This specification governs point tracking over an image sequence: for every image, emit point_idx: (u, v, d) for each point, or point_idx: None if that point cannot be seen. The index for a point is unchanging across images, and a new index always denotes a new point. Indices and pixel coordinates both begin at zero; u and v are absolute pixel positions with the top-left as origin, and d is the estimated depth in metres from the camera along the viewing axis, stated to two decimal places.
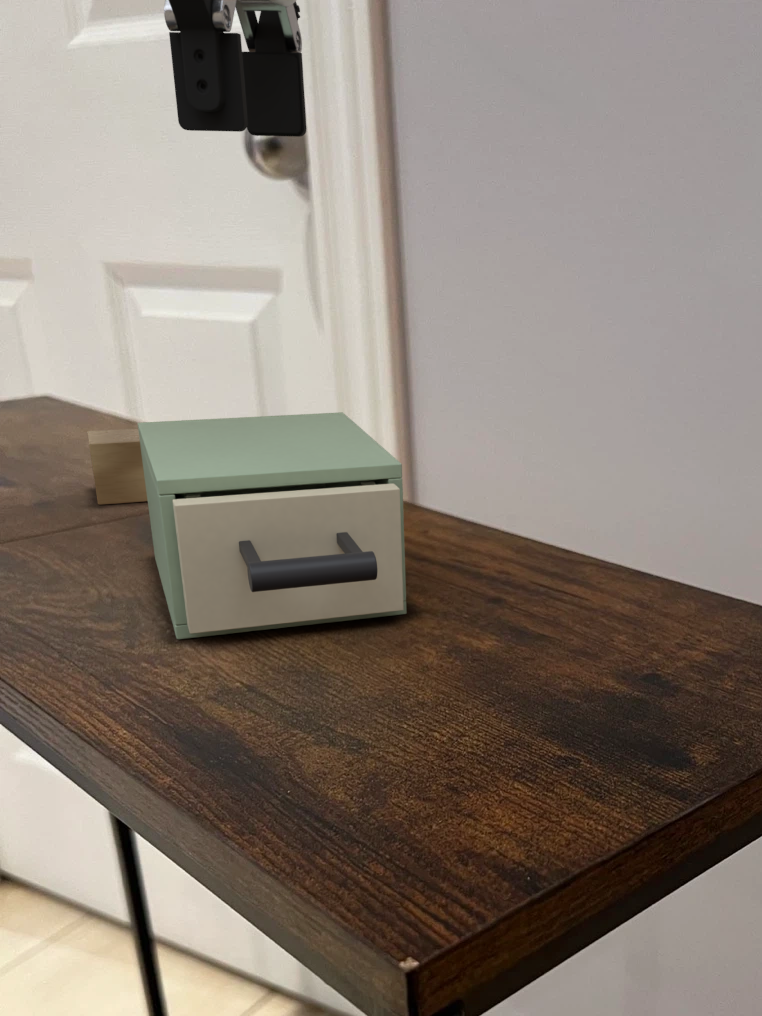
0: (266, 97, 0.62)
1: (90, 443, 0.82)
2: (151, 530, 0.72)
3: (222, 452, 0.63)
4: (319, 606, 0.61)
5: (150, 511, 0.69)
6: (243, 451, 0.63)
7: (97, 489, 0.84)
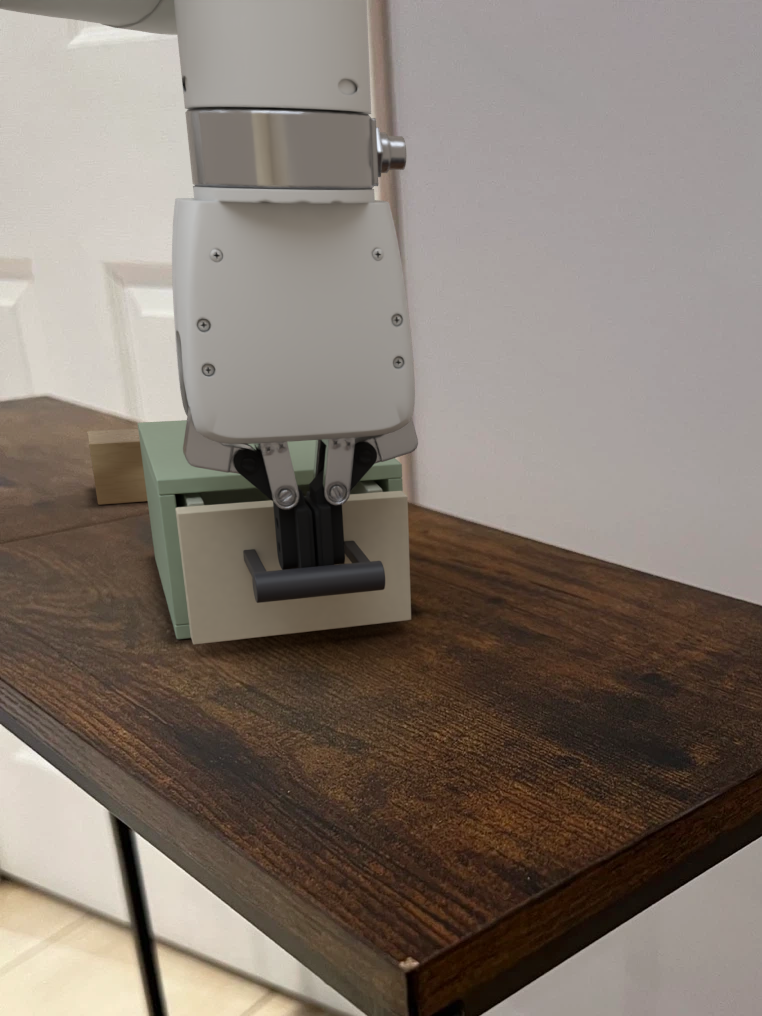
0: None
1: (90, 443, 0.82)
2: (151, 530, 0.72)
3: None
4: (325, 616, 0.60)
5: (150, 511, 0.69)
6: None
7: (97, 489, 0.84)
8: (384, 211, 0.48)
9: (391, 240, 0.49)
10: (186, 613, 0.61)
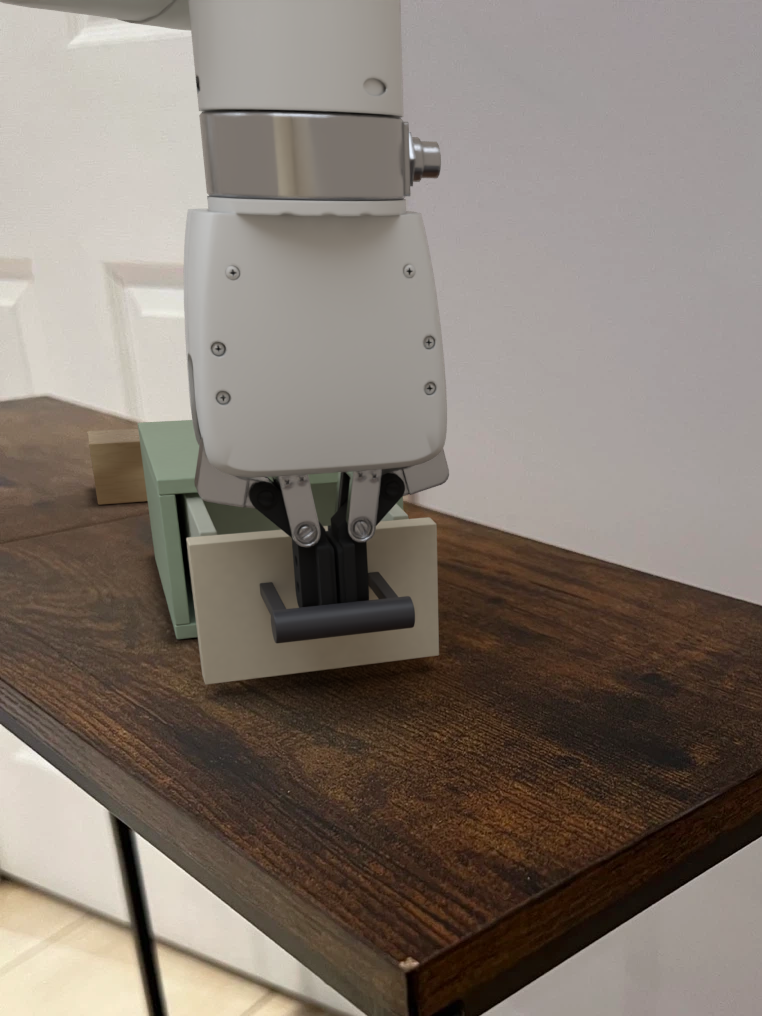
0: None
1: (90, 443, 0.82)
2: (151, 530, 0.72)
3: None
4: (347, 652, 0.56)
5: (150, 511, 0.69)
6: None
7: (97, 489, 0.84)
8: (417, 224, 0.44)
9: (424, 255, 0.45)
10: (186, 613, 0.61)
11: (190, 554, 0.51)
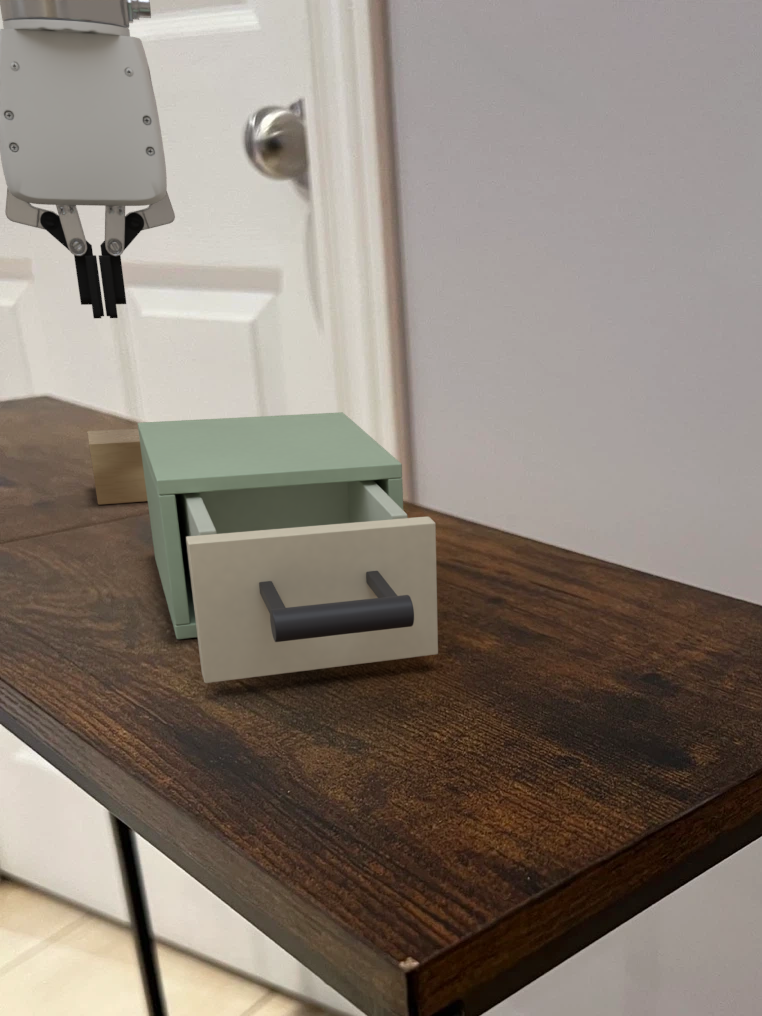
0: None
1: (90, 443, 0.82)
2: (151, 530, 0.72)
3: (222, 452, 0.63)
4: (347, 651, 0.56)
5: (150, 511, 0.69)
6: (243, 451, 0.63)
7: (97, 489, 0.84)
8: (132, 42, 0.73)
9: (139, 63, 0.73)
10: (186, 613, 0.61)
11: (190, 553, 0.51)
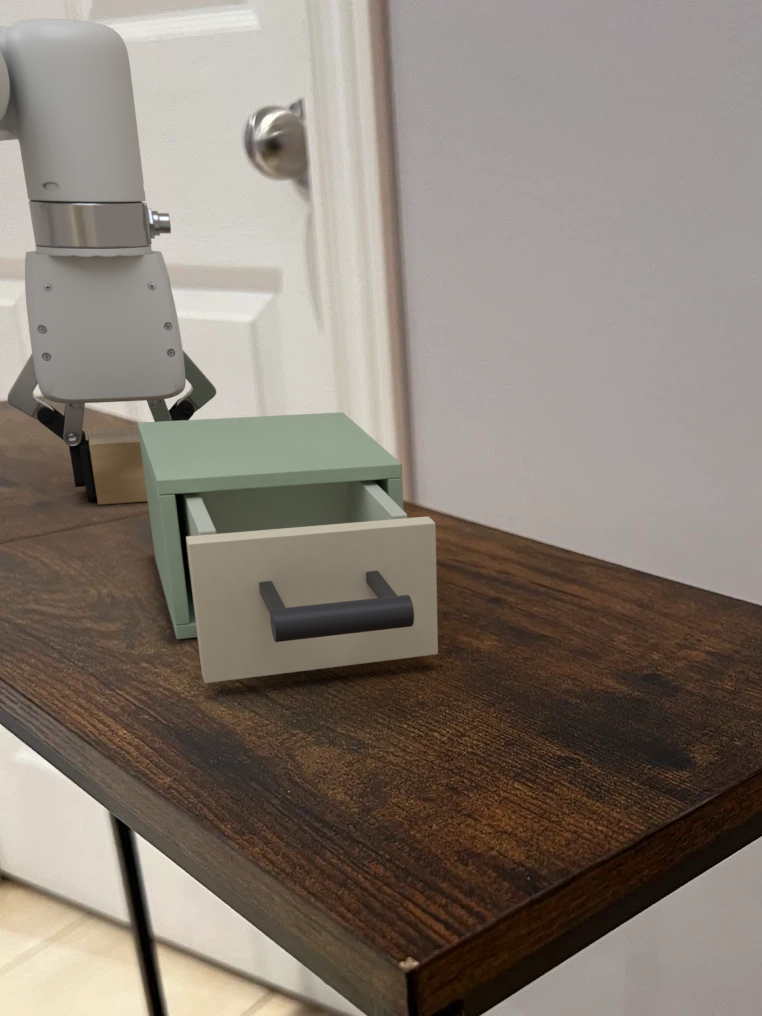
0: None
1: (90, 443, 0.82)
2: (151, 530, 0.72)
3: (222, 452, 0.63)
4: (347, 651, 0.56)
5: (150, 511, 0.69)
6: (243, 451, 0.63)
7: (97, 489, 0.84)
8: (155, 260, 0.79)
9: (161, 277, 0.80)
10: (186, 613, 0.61)
11: (190, 553, 0.51)
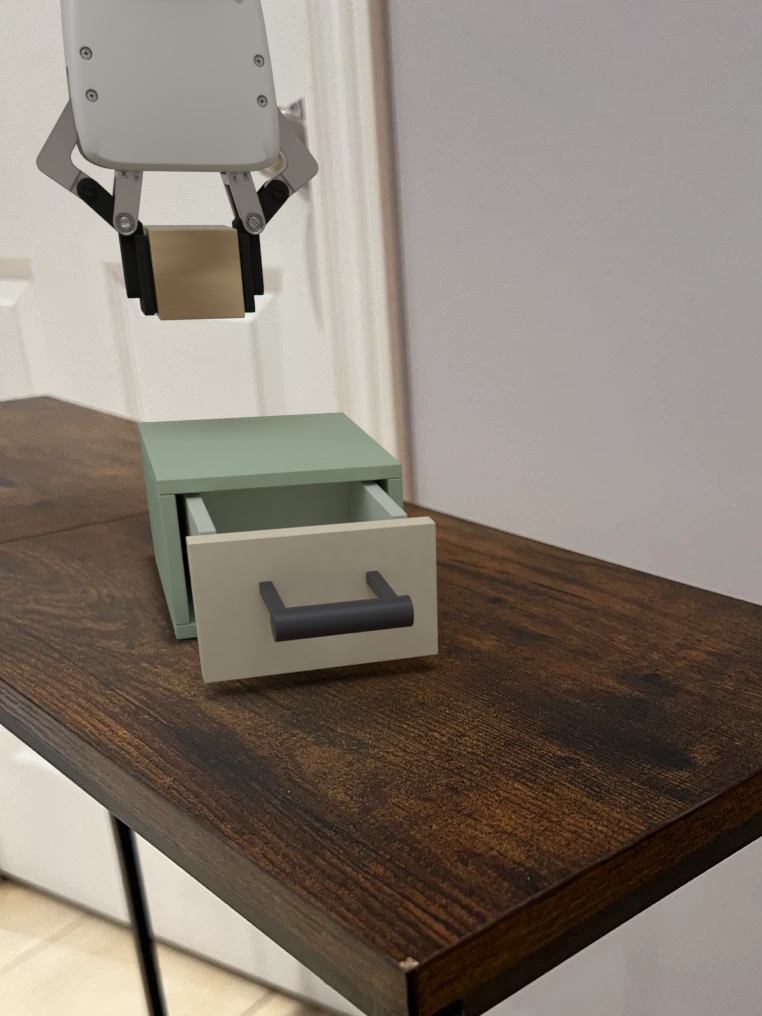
0: None
1: (150, 229, 0.59)
2: (151, 530, 0.72)
3: (222, 452, 0.63)
4: (347, 651, 0.56)
5: (150, 511, 0.69)
6: (243, 451, 0.63)
7: (159, 297, 0.61)
8: None
9: None
10: (186, 613, 0.61)
11: (190, 553, 0.51)
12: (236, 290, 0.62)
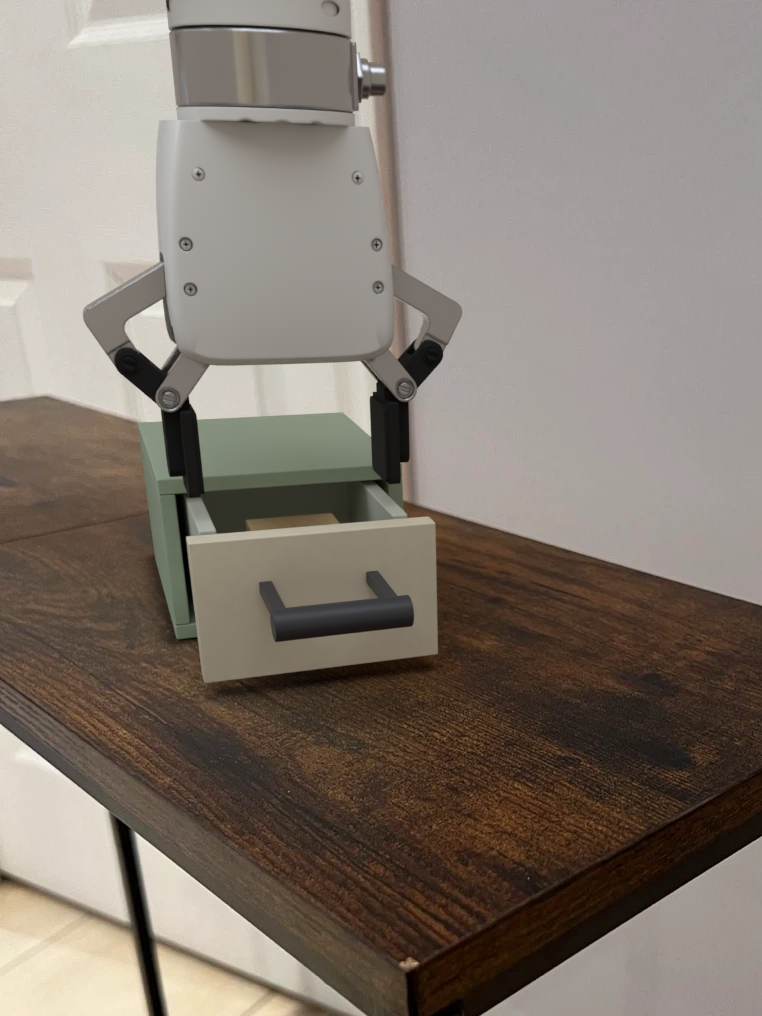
0: (376, 440, 0.57)
1: None
2: (151, 530, 0.72)
3: (222, 452, 0.63)
4: (347, 651, 0.56)
5: (150, 511, 0.69)
6: (243, 451, 0.63)
7: None
8: (364, 135, 0.49)
9: (371, 164, 0.50)
10: (186, 613, 0.61)
11: (190, 553, 0.51)
12: None
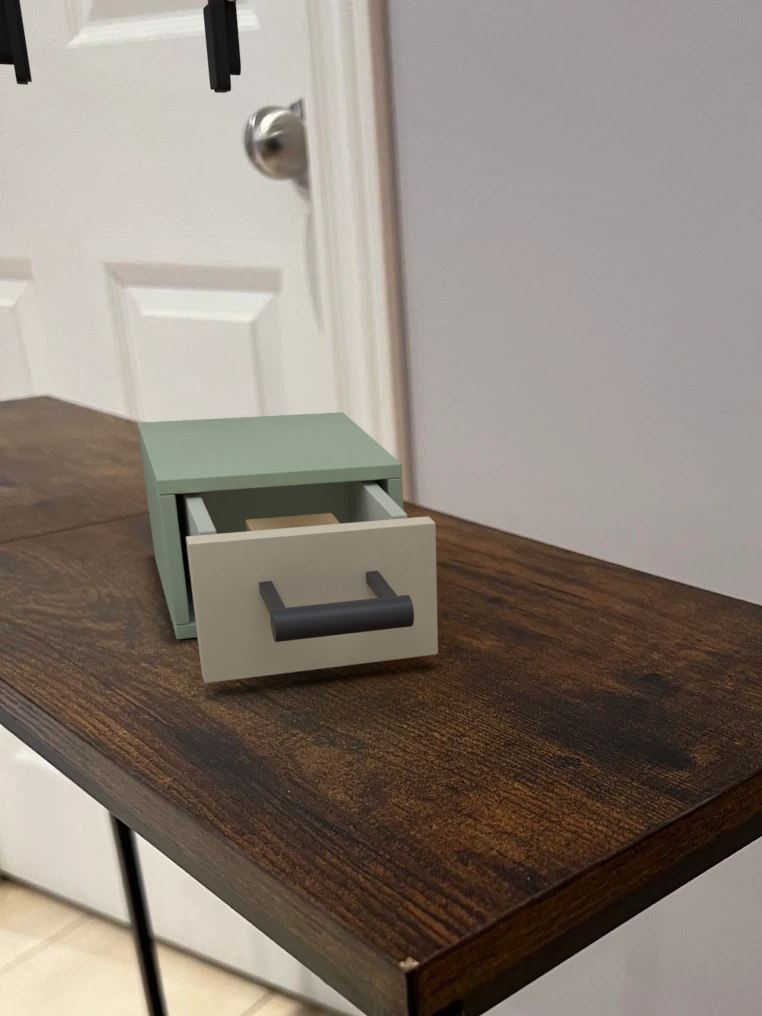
0: (209, 51, 0.60)
1: None
2: (151, 530, 0.72)
3: (222, 452, 0.63)
4: (347, 651, 0.56)
5: (150, 511, 0.69)
6: (243, 451, 0.63)
7: None
8: None
9: None
10: (186, 613, 0.61)
11: (190, 553, 0.51)
12: None
